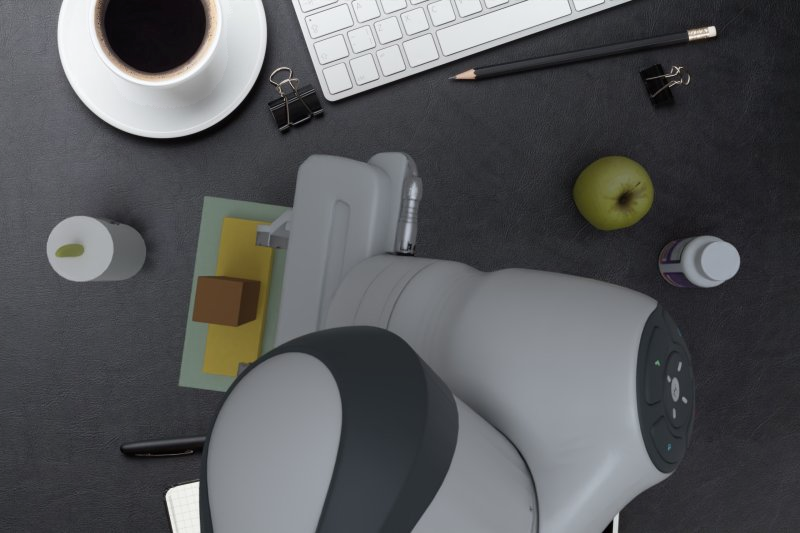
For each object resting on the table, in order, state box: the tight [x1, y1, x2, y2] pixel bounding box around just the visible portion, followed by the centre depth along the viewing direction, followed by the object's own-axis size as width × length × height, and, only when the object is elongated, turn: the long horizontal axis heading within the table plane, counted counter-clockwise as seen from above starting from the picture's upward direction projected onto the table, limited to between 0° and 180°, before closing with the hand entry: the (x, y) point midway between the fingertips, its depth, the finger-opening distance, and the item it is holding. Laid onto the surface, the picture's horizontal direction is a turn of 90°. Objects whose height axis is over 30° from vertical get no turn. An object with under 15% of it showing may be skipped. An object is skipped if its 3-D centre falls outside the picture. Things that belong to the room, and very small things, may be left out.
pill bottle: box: [658, 235, 741, 288], centre depth 80 cm, size 5×5×10 cm
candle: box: [46, 215, 147, 283], centre depth 75 cm, size 6×6×15 cm
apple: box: [572, 155, 655, 231], centre depth 80 cm, size 8×8×10 cm
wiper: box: [192, 217, 275, 377], centre depth 55 cm, size 12×4×10 cm, turn 172°
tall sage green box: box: [178, 195, 293, 393], centre depth 71 cm, size 15×8×24 cm, turn 172°
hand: (254, 304), depth 52 cm, fingers open, 8 cm apart
